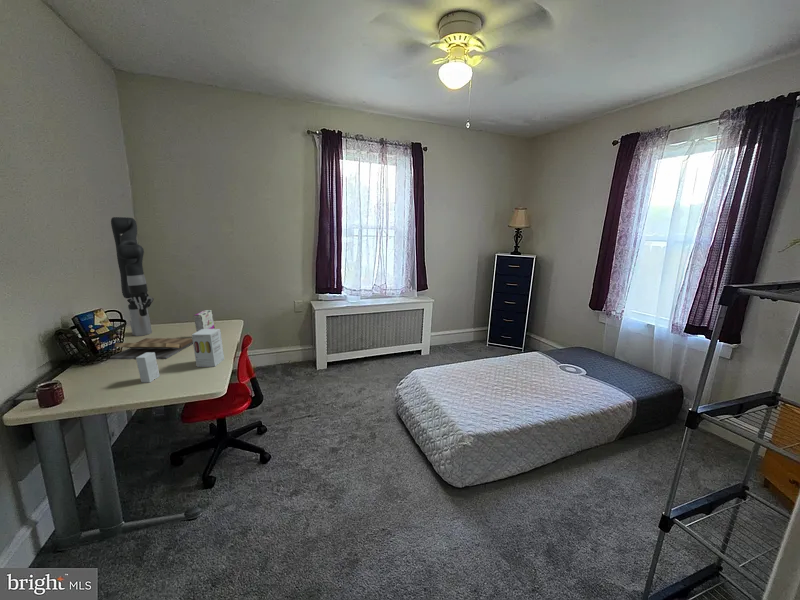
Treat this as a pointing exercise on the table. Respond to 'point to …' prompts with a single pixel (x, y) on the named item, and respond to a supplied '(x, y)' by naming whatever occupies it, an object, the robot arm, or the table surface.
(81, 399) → the table surface
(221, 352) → the supplement box
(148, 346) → the oak plank
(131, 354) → the floor section
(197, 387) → the table surface
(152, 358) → the skincare box
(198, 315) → the candy bar box
